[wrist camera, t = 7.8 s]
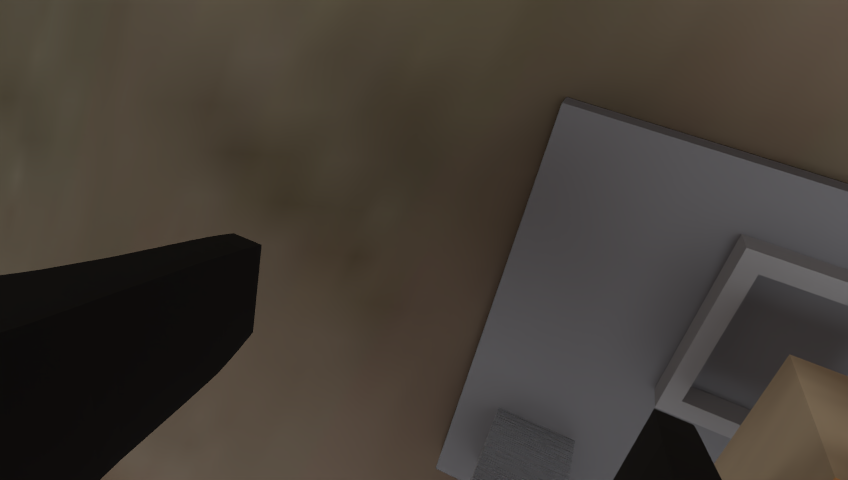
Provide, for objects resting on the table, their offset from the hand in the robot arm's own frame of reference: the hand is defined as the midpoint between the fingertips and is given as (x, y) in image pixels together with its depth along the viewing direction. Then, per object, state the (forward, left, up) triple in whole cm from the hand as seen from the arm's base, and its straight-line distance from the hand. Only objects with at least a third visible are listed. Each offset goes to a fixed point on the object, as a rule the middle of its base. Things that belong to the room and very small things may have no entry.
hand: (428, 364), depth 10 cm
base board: (-8, +5, -10) cm, 14 cm away
